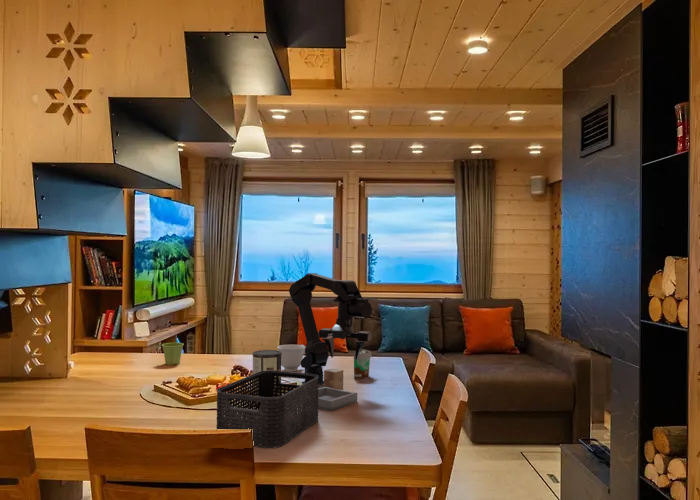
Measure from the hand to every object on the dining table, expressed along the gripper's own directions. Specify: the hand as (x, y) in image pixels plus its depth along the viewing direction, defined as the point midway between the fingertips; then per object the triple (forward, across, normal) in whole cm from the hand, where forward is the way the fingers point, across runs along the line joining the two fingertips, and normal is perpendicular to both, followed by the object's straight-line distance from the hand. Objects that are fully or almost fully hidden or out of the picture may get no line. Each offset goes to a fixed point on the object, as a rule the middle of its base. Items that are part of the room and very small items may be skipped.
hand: (344, 358), depth 201 cm
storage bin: (+11, -4, -50) cm, 51 cm away
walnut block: (+12, -4, 0) cm, 12 cm away
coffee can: (+12, -25, -12) cm, 30 cm away
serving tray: (+11, +1, -18) cm, 21 cm away
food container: (+12, 0, +25) cm, 28 cm away
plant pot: (+14, -87, +20) cm, 90 cm away
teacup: (+13, -32, +27) cm, 44 cm away
